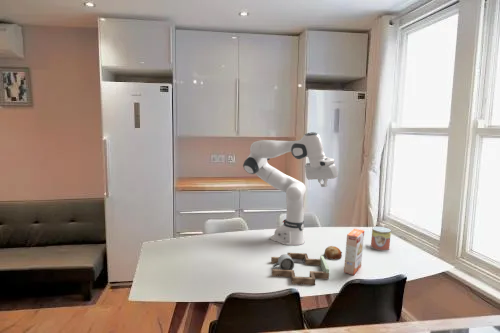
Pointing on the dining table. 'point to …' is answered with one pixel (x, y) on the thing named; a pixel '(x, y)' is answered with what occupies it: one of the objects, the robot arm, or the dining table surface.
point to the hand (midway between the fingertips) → (324, 186)
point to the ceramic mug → (284, 263)
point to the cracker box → (353, 251)
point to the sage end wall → (324, 265)
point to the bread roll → (333, 252)
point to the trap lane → (300, 259)
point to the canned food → (380, 238)
